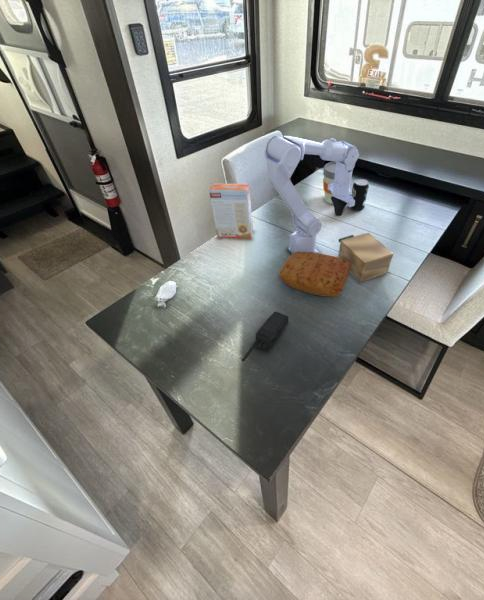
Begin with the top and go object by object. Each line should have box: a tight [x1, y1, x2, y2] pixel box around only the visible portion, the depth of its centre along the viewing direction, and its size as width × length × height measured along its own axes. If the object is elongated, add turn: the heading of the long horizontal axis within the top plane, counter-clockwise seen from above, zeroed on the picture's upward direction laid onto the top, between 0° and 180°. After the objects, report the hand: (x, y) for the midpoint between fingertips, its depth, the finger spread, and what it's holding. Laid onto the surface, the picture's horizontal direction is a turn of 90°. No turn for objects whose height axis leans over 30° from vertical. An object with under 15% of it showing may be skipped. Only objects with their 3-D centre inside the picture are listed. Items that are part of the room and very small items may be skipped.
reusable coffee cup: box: [322, 161, 336, 205], centre depth 141 cm, size 13×13×15 cm
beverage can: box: [350, 178, 370, 212], centre depth 137 cm, size 7×7×12 cm
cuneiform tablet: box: [278, 252, 351, 298], centre depth 104 cm, size 22×17×8 cm
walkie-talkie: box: [241, 311, 289, 363], centre depth 88 cm, size 6×6×20 cm
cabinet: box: [338, 232, 394, 283], centre depth 110 cm, size 14×12×9 cm
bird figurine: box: [154, 280, 180, 308], centre depth 102 cm, size 5×7×10 cm
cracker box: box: [208, 182, 254, 240], centre depth 121 cm, size 14×6×21 cm, turn 84°
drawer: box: [337, 232, 365, 257], centre depth 112 cm, size 17×10×7 cm, turn 24°
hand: (338, 215), depth 118 cm, fingers closed
